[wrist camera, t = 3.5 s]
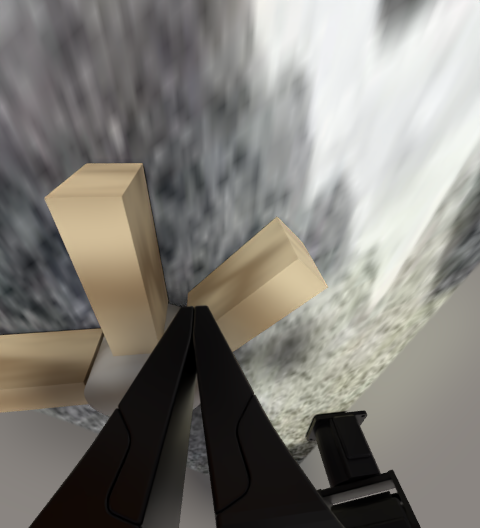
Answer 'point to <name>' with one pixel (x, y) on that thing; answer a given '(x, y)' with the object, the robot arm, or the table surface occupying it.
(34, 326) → the table surface
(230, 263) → the folding leg
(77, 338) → the stool base
